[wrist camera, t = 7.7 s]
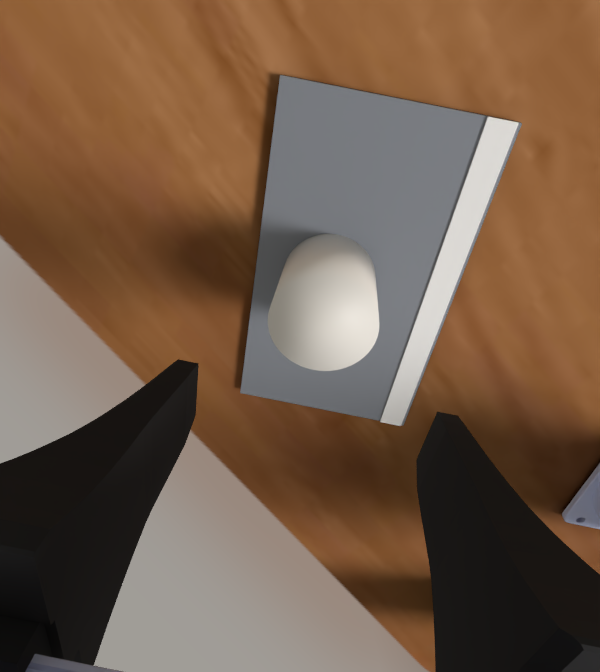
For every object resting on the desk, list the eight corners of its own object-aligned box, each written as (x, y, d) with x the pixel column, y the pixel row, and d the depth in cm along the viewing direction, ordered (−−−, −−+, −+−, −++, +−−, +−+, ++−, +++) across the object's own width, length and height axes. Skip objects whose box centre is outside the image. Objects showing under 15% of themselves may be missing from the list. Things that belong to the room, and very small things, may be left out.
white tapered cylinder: (386, 244, 21) (393, 286, 17) (362, 326, 23) (364, 380, 19) (290, 225, 21) (275, 263, 17) (277, 309, 23) (261, 359, 19)
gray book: (518, 122, 18) (523, 123, 17) (402, 420, 26) (403, 426, 26) (281, 74, 18) (279, 75, 17) (241, 388, 26) (239, 393, 26)
